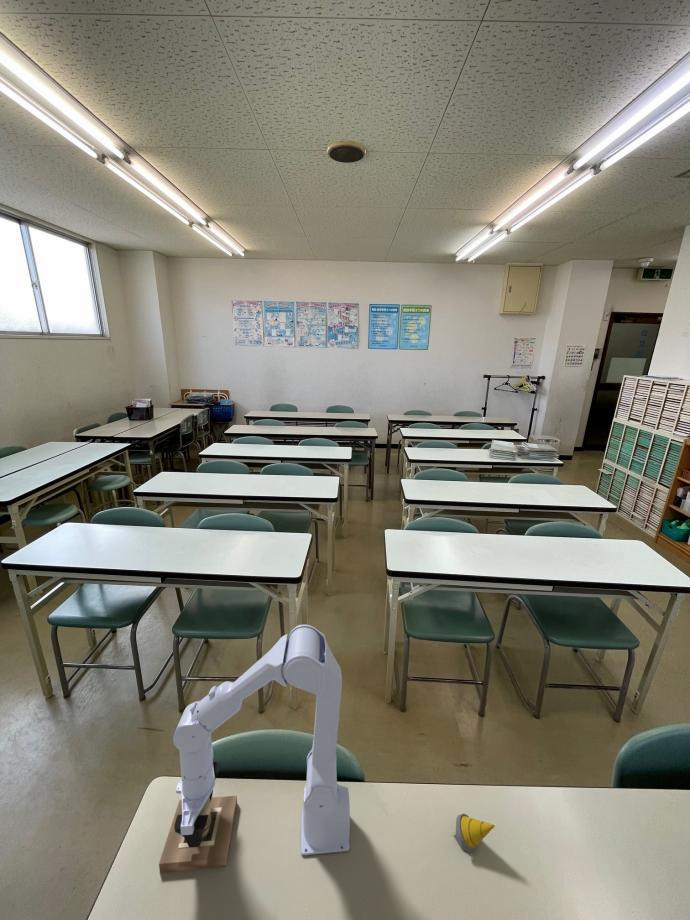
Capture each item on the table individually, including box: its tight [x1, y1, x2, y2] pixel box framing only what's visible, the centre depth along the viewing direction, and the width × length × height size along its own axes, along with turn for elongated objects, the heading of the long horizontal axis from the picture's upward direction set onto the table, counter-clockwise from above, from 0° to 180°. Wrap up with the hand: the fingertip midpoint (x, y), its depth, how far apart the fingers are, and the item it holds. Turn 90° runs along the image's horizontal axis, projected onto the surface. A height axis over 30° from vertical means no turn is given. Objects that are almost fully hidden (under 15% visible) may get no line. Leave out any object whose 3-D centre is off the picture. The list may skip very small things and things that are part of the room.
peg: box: [199, 797, 212, 842], centre depth 75 cm, size 4×4×8 cm
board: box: [158, 795, 238, 873], centre depth 75 cm, size 12×11×2 cm
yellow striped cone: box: [453, 813, 496, 853], centre depth 74 cm, size 5×5×10 cm
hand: (200, 821), depth 75 cm, fingers open, 7 cm apart
